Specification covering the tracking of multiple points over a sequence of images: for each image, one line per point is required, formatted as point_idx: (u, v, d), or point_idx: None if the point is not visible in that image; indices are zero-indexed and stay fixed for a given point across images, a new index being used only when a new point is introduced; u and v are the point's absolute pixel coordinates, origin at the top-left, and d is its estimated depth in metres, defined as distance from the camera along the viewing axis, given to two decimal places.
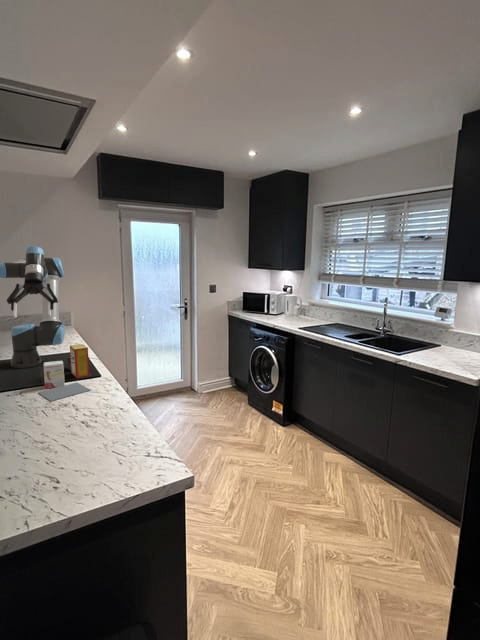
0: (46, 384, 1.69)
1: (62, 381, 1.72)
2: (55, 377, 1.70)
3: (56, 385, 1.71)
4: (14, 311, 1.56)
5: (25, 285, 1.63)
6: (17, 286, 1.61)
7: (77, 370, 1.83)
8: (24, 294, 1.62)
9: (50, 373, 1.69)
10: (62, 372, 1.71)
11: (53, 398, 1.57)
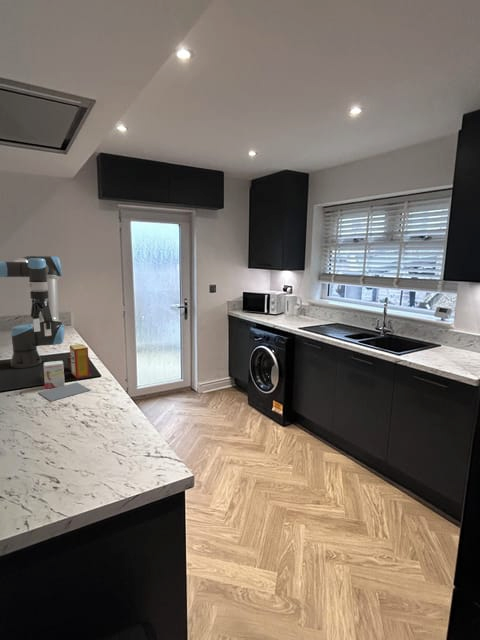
0: (46, 384, 1.69)
1: (62, 381, 1.72)
2: (55, 377, 1.70)
3: (56, 385, 1.71)
4: (34, 327, 1.77)
5: (35, 301, 1.73)
6: (32, 302, 1.75)
7: (77, 370, 1.83)
8: (37, 310, 1.75)
9: (50, 373, 1.69)
10: (62, 372, 1.71)
11: (53, 398, 1.57)
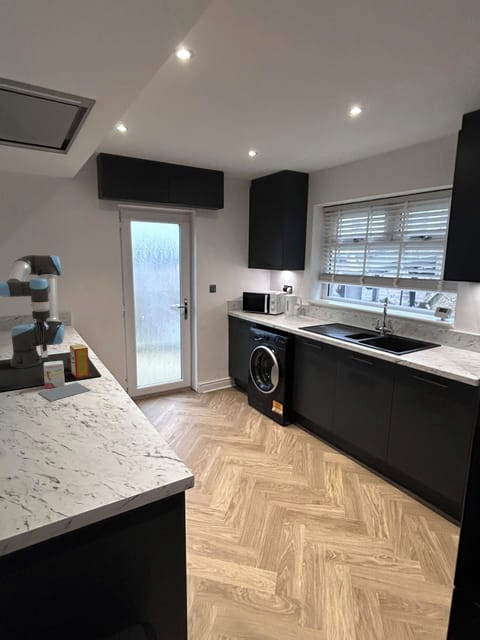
0: (46, 384, 1.69)
1: (62, 381, 1.72)
2: (55, 377, 1.70)
3: (56, 385, 1.71)
4: (41, 353, 1.75)
5: (36, 321, 1.75)
6: (35, 325, 1.76)
7: (77, 370, 1.83)
8: None
9: (50, 373, 1.69)
10: (62, 372, 1.71)
11: (53, 398, 1.57)
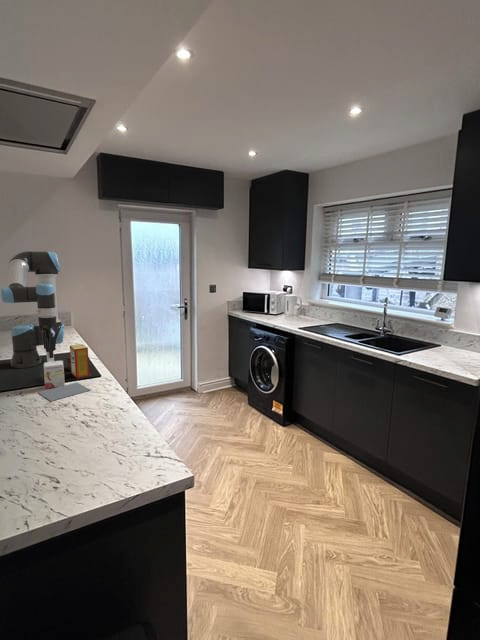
0: (46, 384, 1.68)
1: (62, 381, 1.72)
2: (55, 378, 1.70)
3: (56, 385, 1.71)
4: (47, 360, 1.71)
5: (43, 327, 1.70)
6: (41, 332, 1.72)
7: (77, 370, 1.83)
8: None
9: (50, 374, 1.68)
10: (62, 373, 1.71)
11: (53, 398, 1.57)
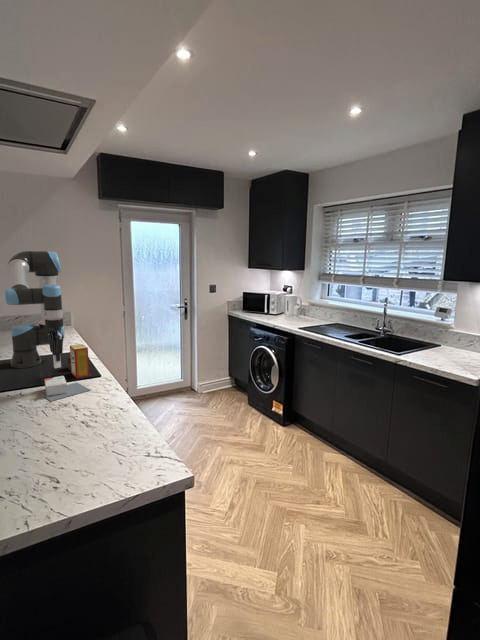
0: None
1: None
2: None
3: None
4: (54, 363, 1.66)
5: (49, 330, 1.66)
6: (47, 334, 1.67)
7: (77, 370, 1.83)
8: None
9: None
10: None
11: (53, 398, 1.57)
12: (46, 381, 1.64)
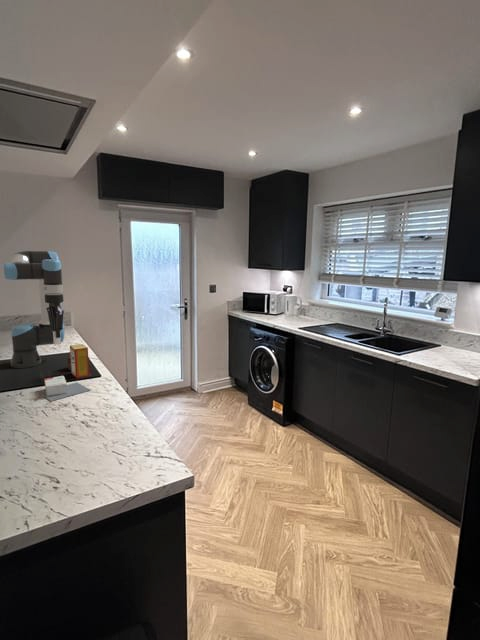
0: None
1: None
2: None
3: None
4: (54, 340, 1.63)
5: (49, 305, 1.62)
6: (47, 310, 1.64)
7: (77, 370, 1.83)
8: None
9: None
10: None
11: (53, 398, 1.57)
12: (46, 381, 1.64)
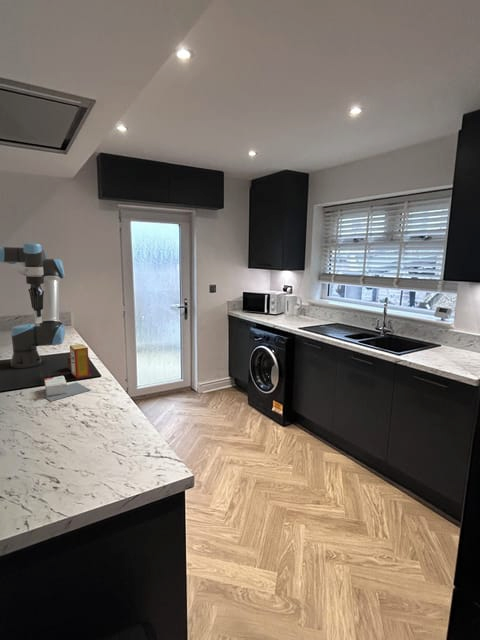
0: None
1: None
2: None
3: None
4: (35, 319, 1.75)
5: None
6: (29, 291, 1.76)
7: (77, 370, 1.83)
8: None
9: None
10: None
11: (53, 398, 1.57)
12: (46, 381, 1.64)
